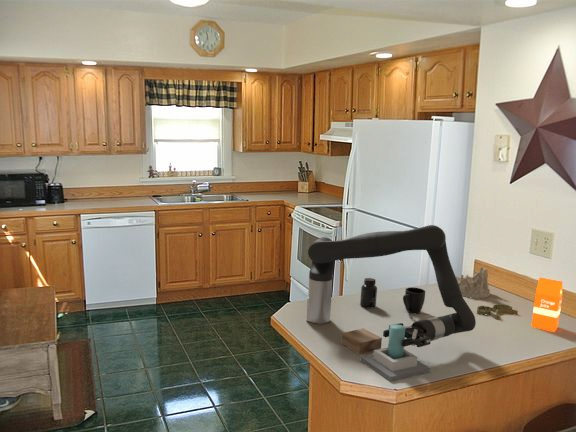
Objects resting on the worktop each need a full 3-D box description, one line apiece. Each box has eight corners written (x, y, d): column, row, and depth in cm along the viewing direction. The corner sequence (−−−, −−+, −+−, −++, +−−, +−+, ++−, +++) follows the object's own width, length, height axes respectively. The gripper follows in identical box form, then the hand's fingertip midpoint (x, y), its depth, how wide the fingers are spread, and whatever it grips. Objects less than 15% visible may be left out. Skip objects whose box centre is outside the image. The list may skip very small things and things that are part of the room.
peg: (387, 364, 180) (390, 329, 177) (386, 358, 184) (389, 324, 182) (403, 365, 179) (406, 330, 177) (402, 359, 184) (404, 325, 182)
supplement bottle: (375, 309, 236) (377, 282, 234) (359, 307, 237) (361, 280, 235) (376, 304, 243) (378, 278, 241) (360, 302, 244) (362, 276, 242)
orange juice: (535, 321, 230) (541, 275, 226) (558, 326, 225) (564, 279, 221) (531, 326, 223) (537, 279, 220) (554, 332, 218) (561, 283, 215)
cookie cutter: (494, 321, 229) (494, 316, 229) (470, 312, 239) (471, 307, 239) (521, 314, 239) (521, 310, 238) (497, 306, 248) (498, 302, 248)
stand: (359, 354, 190) (360, 343, 190) (341, 343, 199) (341, 333, 198) (381, 348, 196) (381, 337, 195) (362, 338, 204) (363, 328, 203)
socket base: (390, 381, 171) (391, 367, 170) (360, 360, 185) (361, 348, 184) (429, 372, 179) (431, 359, 178) (398, 353, 193) (399, 340, 192)
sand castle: (494, 293, 266) (495, 262, 264) (480, 301, 254) (481, 270, 252) (463, 287, 276) (463, 258, 274) (448, 295, 264) (448, 265, 262)
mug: (394, 312, 233) (396, 291, 232) (411, 307, 241) (413, 286, 239) (410, 318, 227) (412, 296, 226) (427, 312, 235) (429, 291, 233)
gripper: (413, 313, 193) (378, 320, 184) (445, 326, 181) (409, 335, 173) (411, 333, 194) (377, 341, 186) (443, 348, 183) (407, 357, 174)
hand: (392, 338), depth 179 cm, fingers open, 8 cm apart
